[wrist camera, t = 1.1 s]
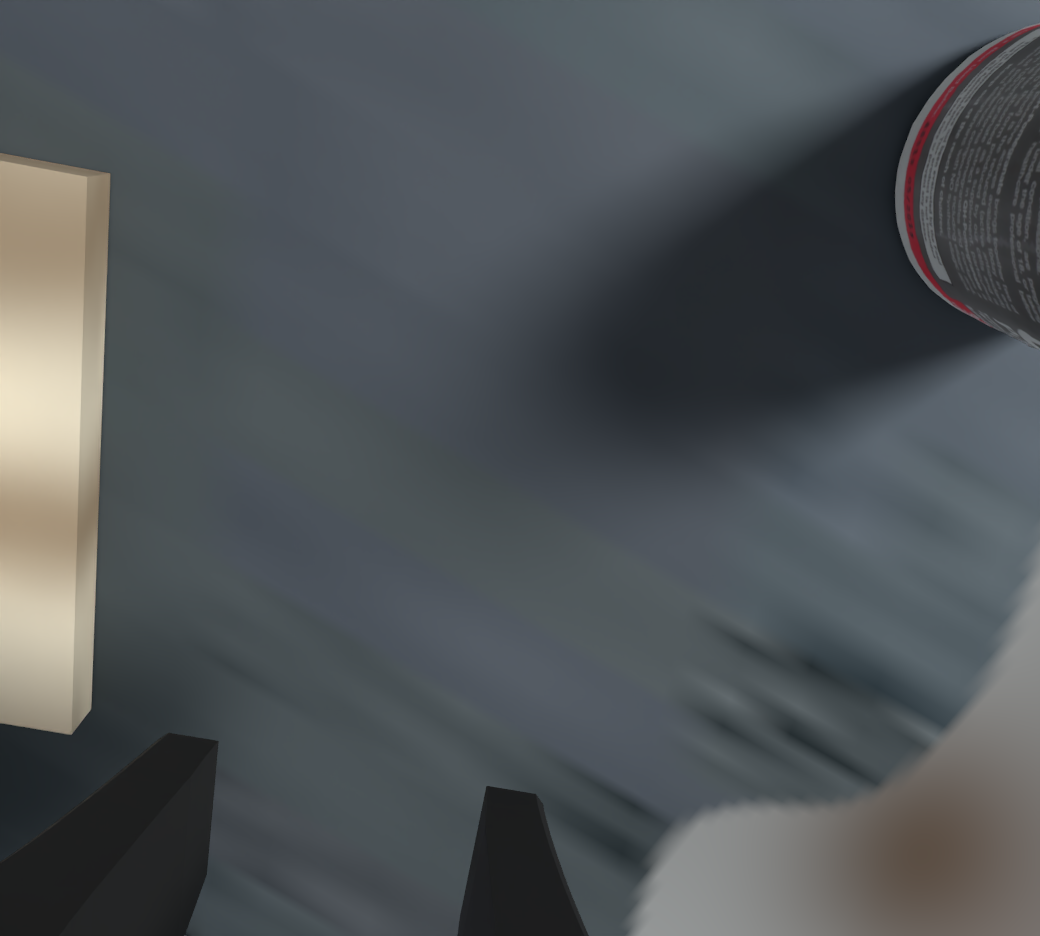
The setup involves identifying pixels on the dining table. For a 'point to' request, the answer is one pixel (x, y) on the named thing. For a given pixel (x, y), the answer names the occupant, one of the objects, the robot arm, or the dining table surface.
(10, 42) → the dining table surface
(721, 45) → the dining table surface
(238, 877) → the dining table surface
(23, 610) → the bench
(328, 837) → the dining table surface
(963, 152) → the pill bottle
